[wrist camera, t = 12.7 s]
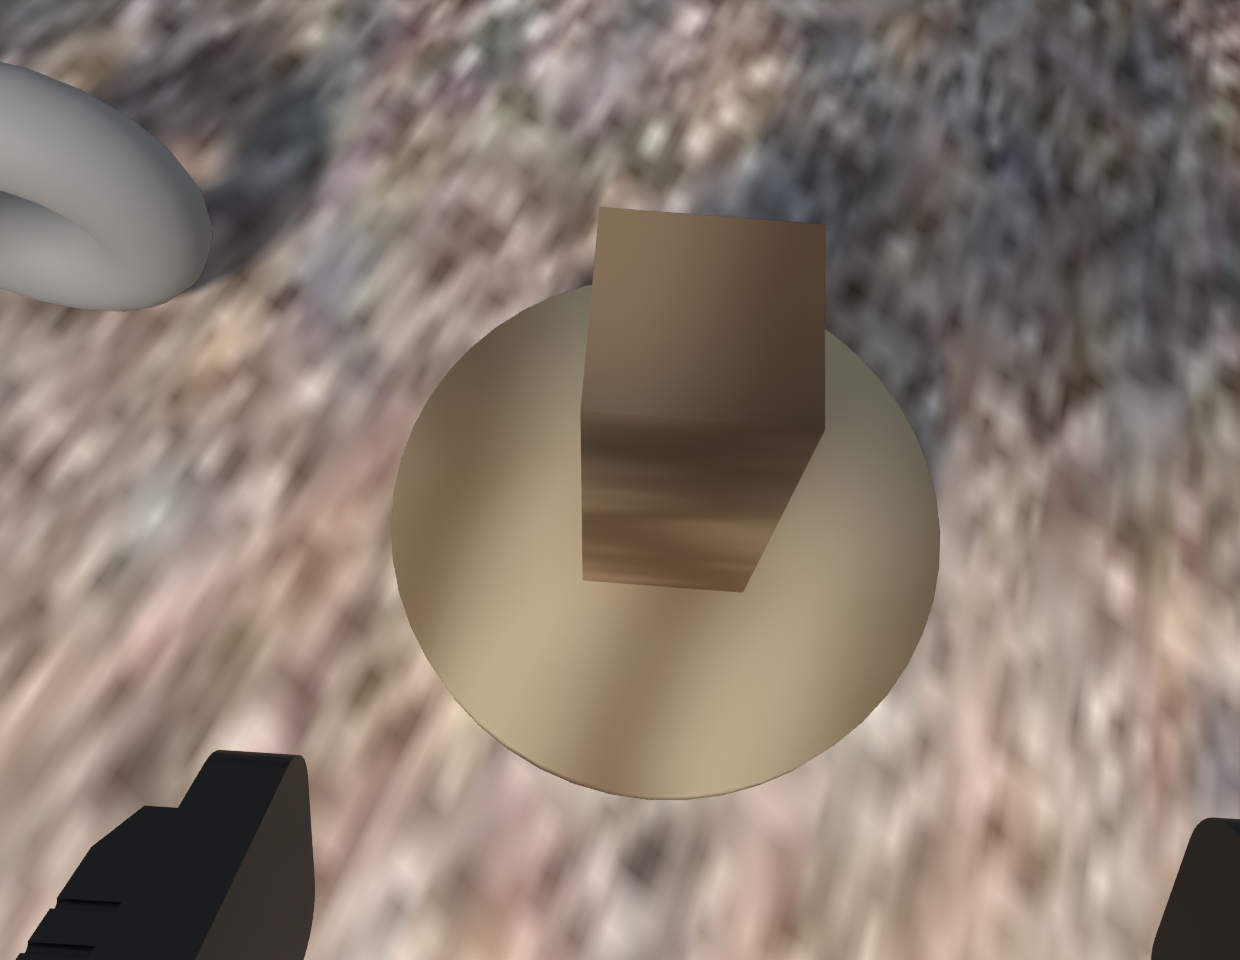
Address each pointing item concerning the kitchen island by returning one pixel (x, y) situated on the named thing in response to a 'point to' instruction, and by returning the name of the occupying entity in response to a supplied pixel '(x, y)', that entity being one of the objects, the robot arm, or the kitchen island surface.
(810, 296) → the lid
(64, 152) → the donut
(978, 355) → the kitchen island surface
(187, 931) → the robot arm
